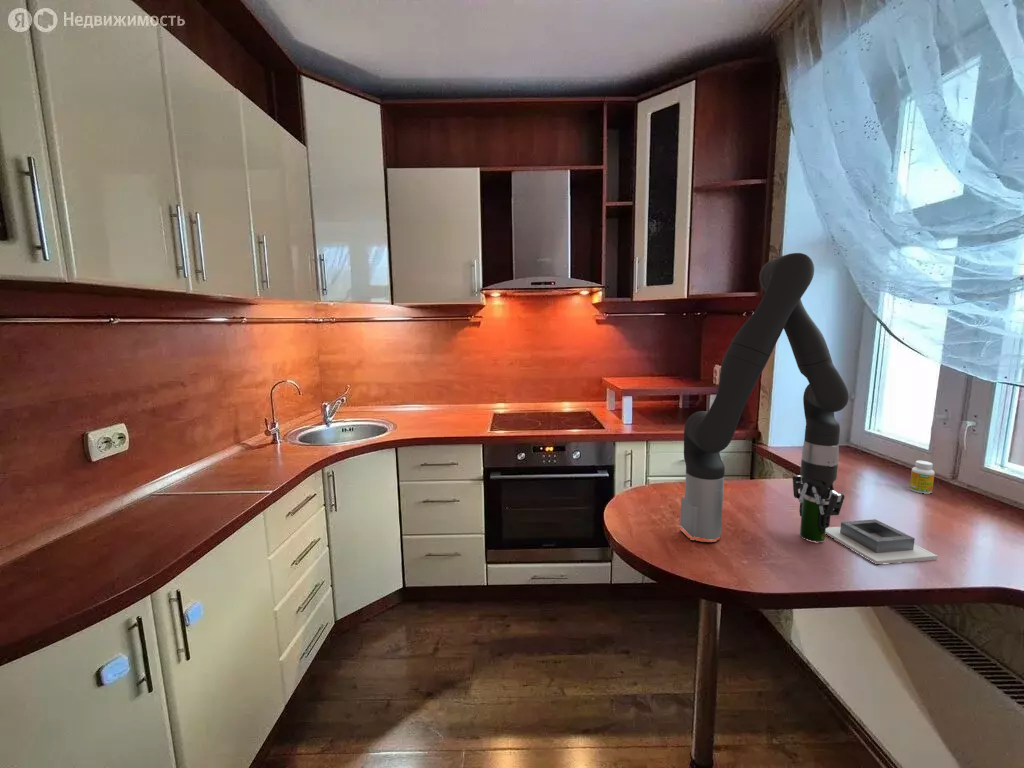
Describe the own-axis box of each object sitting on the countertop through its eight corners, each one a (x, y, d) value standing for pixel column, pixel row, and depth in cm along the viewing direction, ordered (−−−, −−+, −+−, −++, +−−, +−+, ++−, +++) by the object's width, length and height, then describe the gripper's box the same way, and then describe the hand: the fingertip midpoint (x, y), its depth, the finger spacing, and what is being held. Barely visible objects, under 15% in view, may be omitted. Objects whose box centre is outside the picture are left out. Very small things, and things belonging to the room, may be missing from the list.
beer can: (800, 540, 111) (804, 496, 109) (798, 531, 115) (802, 489, 114) (826, 545, 108) (830, 501, 106) (823, 536, 113) (827, 493, 111)
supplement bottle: (916, 493, 138) (919, 464, 136) (905, 487, 143) (908, 459, 141) (936, 495, 137) (940, 465, 135) (924, 488, 142) (928, 460, 140)
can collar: (876, 553, 103) (877, 541, 102) (840, 532, 112) (841, 522, 112) (913, 549, 104) (914, 538, 103) (874, 529, 114) (875, 519, 113)
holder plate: (876, 565, 100) (876, 561, 99) (819, 531, 115) (820, 528, 115) (937, 559, 101) (937, 555, 101) (873, 527, 117) (873, 523, 117)
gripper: (784, 451, 115) (780, 510, 118) (829, 470, 101) (823, 537, 104) (810, 450, 116) (805, 509, 118) (858, 468, 102) (851, 534, 104)
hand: (813, 521), depth 111 cm, fingers closed on beer can, 5 cm apart
